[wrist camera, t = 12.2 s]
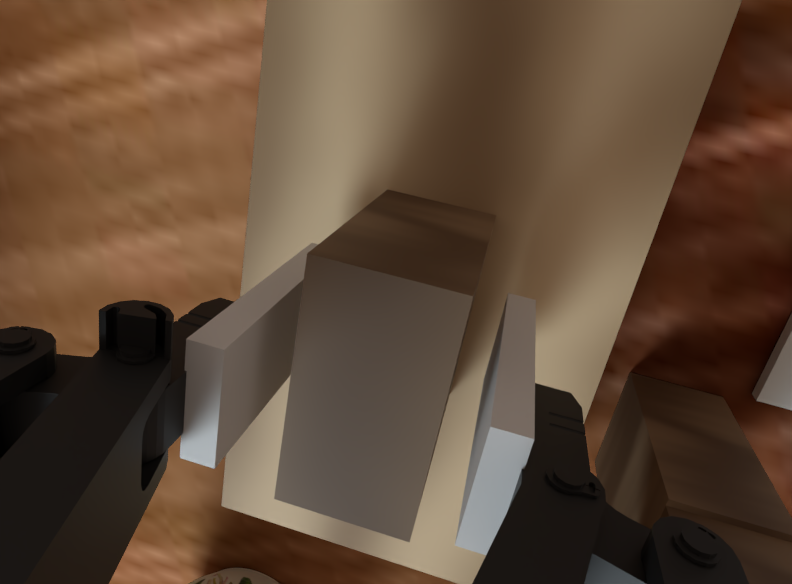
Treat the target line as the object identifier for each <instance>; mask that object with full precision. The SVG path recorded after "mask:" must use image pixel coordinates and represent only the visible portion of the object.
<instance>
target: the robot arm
mask: <svg viewBox="0 0 792 584" xmlns="http://www.w3.org/2000/svg"><path fill="white" fill-rule="evenodd" d="M317 245H318V244H315V243H311V244H310V245H308V246H307V247H306V248H304V249H303V250H302V251H300V252H299V253H298V254H296V255H295V256H294V257H293V258H291V259H290V260H289V261H287V262H286V263H285V264H283V265H282V266H281V267H279V268H278V269H277V270H276V271H274V272H273V273H272V274H270V275H269V276H268V277H266V278H265V279H264V280H262V281H261V282H260V283H259V284H257V285H256V286H255V287H253V288H252V289H251V290H249V291H248V292H247V293H245V294H244V295H243V296H242V297H240V298H239V299H238V300H236V301H235V302H233V301H230V300H226V299H222V298H218V299H214V300H211V301H208V302H204V303H201V304H200V305H198V306H197V307H195V308H194V309H192V310H191V311H190V312H189V313H188V314H185V315H184V316H182V317H181V318H179V319H178V322H177V321H175V322H174V315H173V313H172V312H171V310H170V309H169V308H167V307H165V306H163V305H161V304H158V303H154V302H150V301H137V300H132V301H121V302H117V303H113V304H110V305H107V306H105V307H104V308H102V309H100V310H99V350H98V351H97V353H96V354H95V355H94V356H93V357H82V356H71V355H60V354H56V339H55V338H54V337H53V335H52V334H51V333H48V332H46V331H44V330H42V329H36V328H30V327H24V326H21V327H19V326H16V327H9V328H5V329H0V584H109V582H110V580H111V578H112V576H113V574H114V572H115V570H116V568H117V566H118V564H119V562H120V560H121V558H122V556H123V554H124V552H125V550H126V548H127V546H128V544H129V542H130V540H131V538H132V536H133V534H134V532H135V530H136V528H137V526H138V524H139V522H140V520H141V518H142V516H143V514H144V512H145V510H146V508H147V506H148V504H149V502H150V500H151V498H152V496H153V494H154V492H155V490H156V488H157V486H158V484H159V482H160V480H161V478H162V476H163V474H164V472H165V470H166V466H167V461H168V448H169V447H170V446H171V445H172V444H173V443H174V442H175V441H176V440H177V439H178V438H179V436H180V435H181V446H180V458H182V459H185V460H188V461H191V462H195V463H198V464H201V465H204V466H207V467H210V468H213V469H215V468H216V466H217V465H218V464H219V463H220V461H221V460H222V459H223V458H224V457H225V455H226V454H227V453H228V452H229V450H230V449H231V448H232V447H233V445H234V444H235V443H236V442H237V441H238V439H239V438H240V437H241V436H242V434H243V433H244V432H245V431H246V429H247V428H248V427H249V426H250V424H251V423H252V422H253V421H254V420H255V418H256V417H257V416H258V415H259V413H260V412H261V411H262V410H263V408H264V407H265V406H266V405H267V403H268V402H269V401H270V400H271V399H272V397H273V396H274V395H275V394H276V392H277V391H278V390H279V389H280V387H281V386H282V385H283V384H284V382H285V381H286V380H287V379H288V378H289V376H290V375H291V370H292V362H293V355H294V347H295V340H296V332H297V325H298V318H299V310H300V303H301V295H302V288H303V280H304V273H305V266H306V258H307V253H308V252H309V251H311V250H312V249H313V248H315V247H316V246H317ZM173 322H174V323H173ZM535 335H536V300H534V299H530V298H526V297H522V296H518V295H514V294H510V293H508V295H507V299H506V302H505V306H504V309H503V313H502V316H501V320H500V323H499V327H498V331H497V334H496V338H495V341H494V345H493V348H492V352H491V355H490V359H489V362H488V366H487V369H486V373H485V376H484V381H483V387H482V392H481V398H480V404H479V410H478V415H477V421H476V427H475V432H474V438H473V444H472V450H471V455H470V461H469V467H468V472H467V478H466V484H465V490H464V495H463V501H462V507H461V512H460V518H459V524H458V530H457V535H456V541H455V546H458V547H461V548H464V549H467V550H470V551H474V552H477V553H480V554H483V555H486V557H485V559H484V561H483V563H482V565H481V567H480V569H479V571H478V573H477V575H476V577H475V579H474V581H473V583H472V584H749V582H748V580H747V577H746V575H745V572H744V570H743V567H742V565H741V562H740V560H739V559H738V557H737V555H736V554H735V552H734V551H733V549H732V548H731V547H730V546H729V545H728V544H727V543H726V542H725V541H724V540H723V539H722V538H721V537H720V536H719V535H717V534H716V533H714V532H713V531H711V530H709V529H708V528H707V527H705V526H703V525H701V524H698V523H696V522H694V521H691V520H689V519H686V518H680V517H675V516H669V517H663V518H659V519H658V520H657V521H656V522H655V523H654V524H653V526H652V528H651V529H649V528H647V527H645V526H644V525H642V524H640V523H638V522H636V521H634V520H632V519H630V518H628V517H627V516H625V515H623V514H622V513H620V512H618V511H617V510H615V509H614V508H613V507H612V506H610V505H609V504H608V503H607V502H606V495H605V489H604V487H603V485H602V484H601V482H600V481H599V479H598V478H597V477H596V476H595V475H593V474H592V473H591V472H590V466H589V458H588V450H587V443H586V436H585V427H584V424H583V422H584V420H583V412H582V407H581V406H580V404H579V403H578V402H577V400H576V399H575V398H574V396H573V395H572V393H570V392H566V391H562V390H559V389H555V388H551V387H548V386H544V385H541V384H537V383H535Z"/></svg>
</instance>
